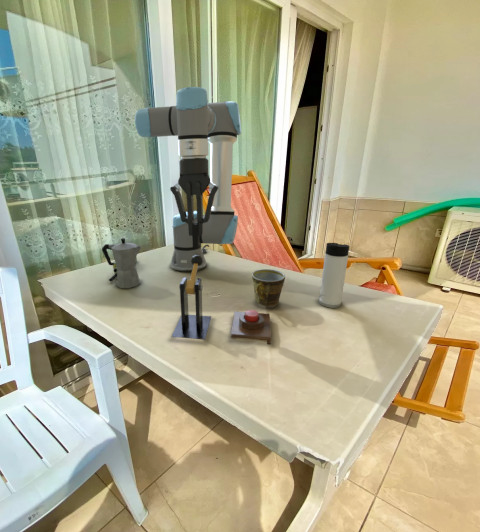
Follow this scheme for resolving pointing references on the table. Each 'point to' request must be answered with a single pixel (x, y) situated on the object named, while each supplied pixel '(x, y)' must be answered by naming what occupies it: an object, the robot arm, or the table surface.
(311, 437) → the table surface
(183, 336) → the switch bracket
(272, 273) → the ceramic cup
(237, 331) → the button block
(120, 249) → the coffeepot
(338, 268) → the travel mug
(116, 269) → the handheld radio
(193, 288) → the switch lever
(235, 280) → the table surface
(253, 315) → the button
